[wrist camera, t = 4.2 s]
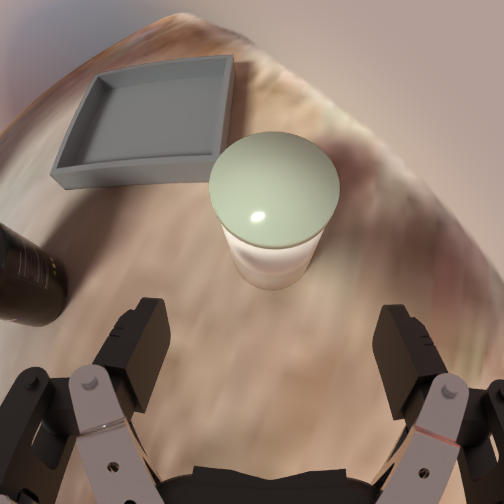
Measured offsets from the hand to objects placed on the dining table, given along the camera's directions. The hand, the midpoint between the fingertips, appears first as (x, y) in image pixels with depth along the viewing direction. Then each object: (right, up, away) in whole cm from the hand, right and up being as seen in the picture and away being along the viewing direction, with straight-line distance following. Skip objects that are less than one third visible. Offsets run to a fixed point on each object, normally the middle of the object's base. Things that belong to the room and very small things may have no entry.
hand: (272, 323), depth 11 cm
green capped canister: (+1, +2, +12) cm, 12 cm away
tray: (-11, +15, +17) cm, 25 cm away
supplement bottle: (-19, -1, +12) cm, 23 cm away
